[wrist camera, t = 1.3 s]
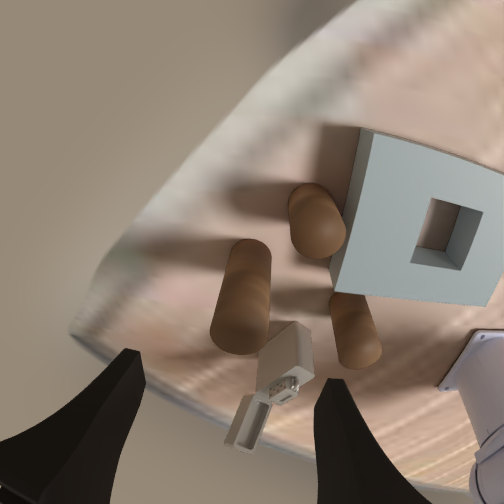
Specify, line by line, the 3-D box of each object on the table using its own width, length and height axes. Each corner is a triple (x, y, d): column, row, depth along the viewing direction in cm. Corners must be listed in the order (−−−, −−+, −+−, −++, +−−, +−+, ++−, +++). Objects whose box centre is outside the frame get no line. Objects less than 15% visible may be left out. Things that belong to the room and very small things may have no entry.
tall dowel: (274, 242, 19) (272, 317, 13) (268, 277, 21) (263, 358, 14) (232, 236, 19) (210, 308, 13) (228, 272, 21) (208, 350, 14)
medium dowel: (369, 289, 20) (388, 339, 16) (358, 318, 22) (372, 370, 17) (334, 285, 21) (346, 337, 16) (324, 315, 22) (333, 368, 17)
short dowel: (336, 187, 17) (351, 212, 14) (327, 228, 19) (338, 262, 15) (291, 179, 17) (296, 204, 14) (284, 222, 19) (286, 254, 15)
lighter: (295, 320, 22) (298, 414, 15) (312, 331, 23) (320, 424, 16) (234, 367, 25) (221, 451, 18) (250, 376, 25) (242, 459, 18)
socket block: (512, 177, 16) (534, 189, 13) (471, 287, 20) (485, 306, 18) (361, 127, 16) (374, 133, 13) (328, 268, 20) (334, 291, 18)
